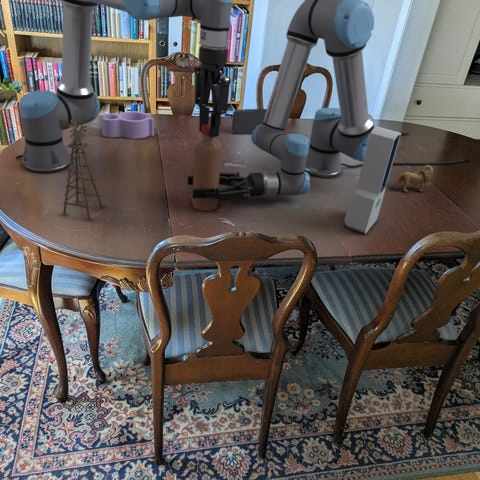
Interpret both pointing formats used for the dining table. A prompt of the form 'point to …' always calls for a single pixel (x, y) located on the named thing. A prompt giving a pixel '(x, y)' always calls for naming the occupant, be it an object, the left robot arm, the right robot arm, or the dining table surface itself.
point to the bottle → (206, 170)
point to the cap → (205, 129)
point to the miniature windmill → (73, 145)
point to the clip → (127, 125)
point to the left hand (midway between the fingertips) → (208, 133)
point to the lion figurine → (415, 178)
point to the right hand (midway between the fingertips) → (190, 187)
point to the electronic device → (372, 179)
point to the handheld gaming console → (247, 120)
